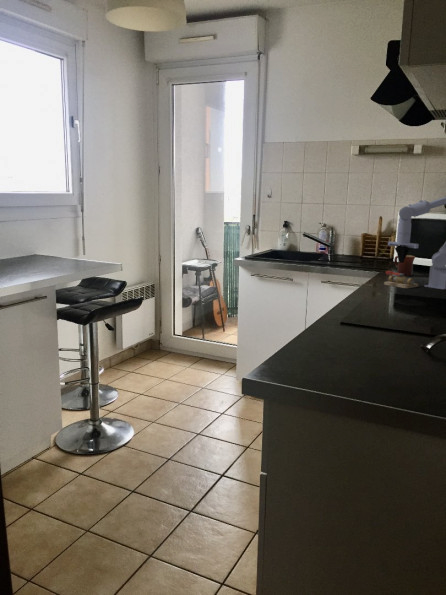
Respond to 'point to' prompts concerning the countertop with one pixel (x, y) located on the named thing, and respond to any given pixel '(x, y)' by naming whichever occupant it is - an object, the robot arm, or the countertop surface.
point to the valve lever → (394, 273)
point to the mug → (405, 265)
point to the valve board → (401, 282)
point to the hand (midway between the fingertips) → (401, 262)
